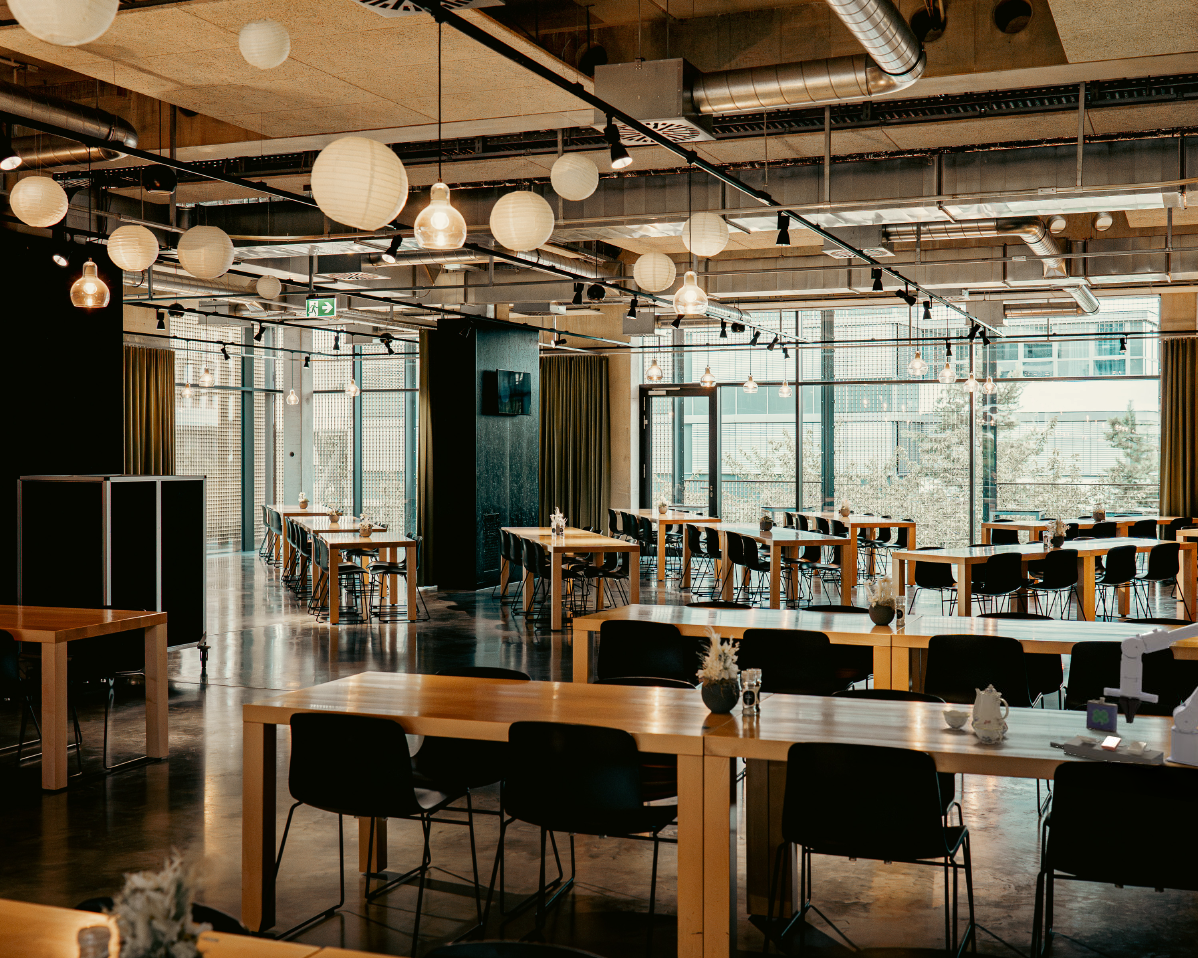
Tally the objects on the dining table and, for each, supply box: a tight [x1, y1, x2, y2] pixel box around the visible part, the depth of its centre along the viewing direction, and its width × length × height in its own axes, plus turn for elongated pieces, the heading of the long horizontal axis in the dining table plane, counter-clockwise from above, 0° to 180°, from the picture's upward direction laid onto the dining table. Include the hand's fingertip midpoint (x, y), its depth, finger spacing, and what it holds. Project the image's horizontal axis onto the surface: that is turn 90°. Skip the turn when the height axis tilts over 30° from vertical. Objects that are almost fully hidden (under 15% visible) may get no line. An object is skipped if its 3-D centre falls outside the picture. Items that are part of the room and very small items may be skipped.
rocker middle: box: [1101, 735, 1122, 751], centre depth 315 cm, size 4×6×2 cm, turn 137°
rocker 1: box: [1076, 734, 1097, 743], centre depth 320 cm, size 4×6×2 cm, turn 138°
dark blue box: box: [1085, 697, 1118, 733], centre depth 351 cm, size 9×3×11 cm, turn 51°
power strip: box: [1049, 736, 1165, 765], centre depth 319 cm, size 30×12×3 cm, turn 47°
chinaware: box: [942, 684, 1010, 745], centre depth 340 cm, size 28×17×17 cm, turn 19°
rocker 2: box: [1127, 740, 1148, 755], centre depth 311 cm, size 4×6×2 cm, turn 137°
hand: (1129, 722), depth 321 cm, fingers closed
